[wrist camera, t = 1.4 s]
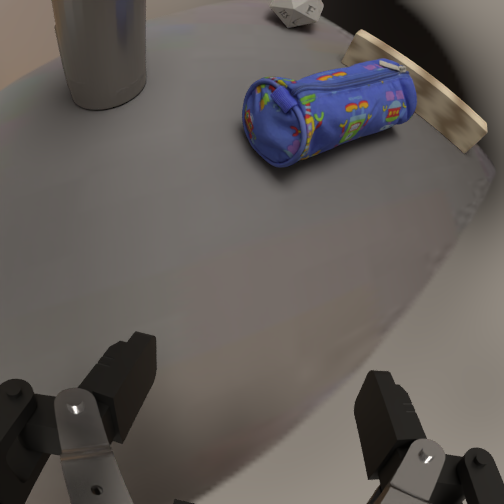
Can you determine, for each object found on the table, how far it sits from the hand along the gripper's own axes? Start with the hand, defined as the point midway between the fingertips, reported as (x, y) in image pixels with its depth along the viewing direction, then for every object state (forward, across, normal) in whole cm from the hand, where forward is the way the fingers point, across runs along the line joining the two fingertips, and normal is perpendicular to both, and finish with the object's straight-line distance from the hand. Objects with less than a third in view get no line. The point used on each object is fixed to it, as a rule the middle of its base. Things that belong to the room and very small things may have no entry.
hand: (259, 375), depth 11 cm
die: (+44, +2, -32) cm, 55 cm away
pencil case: (+29, -5, -12) cm, 31 cm away
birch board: (+39, -18, -20) cm, 47 cm away
